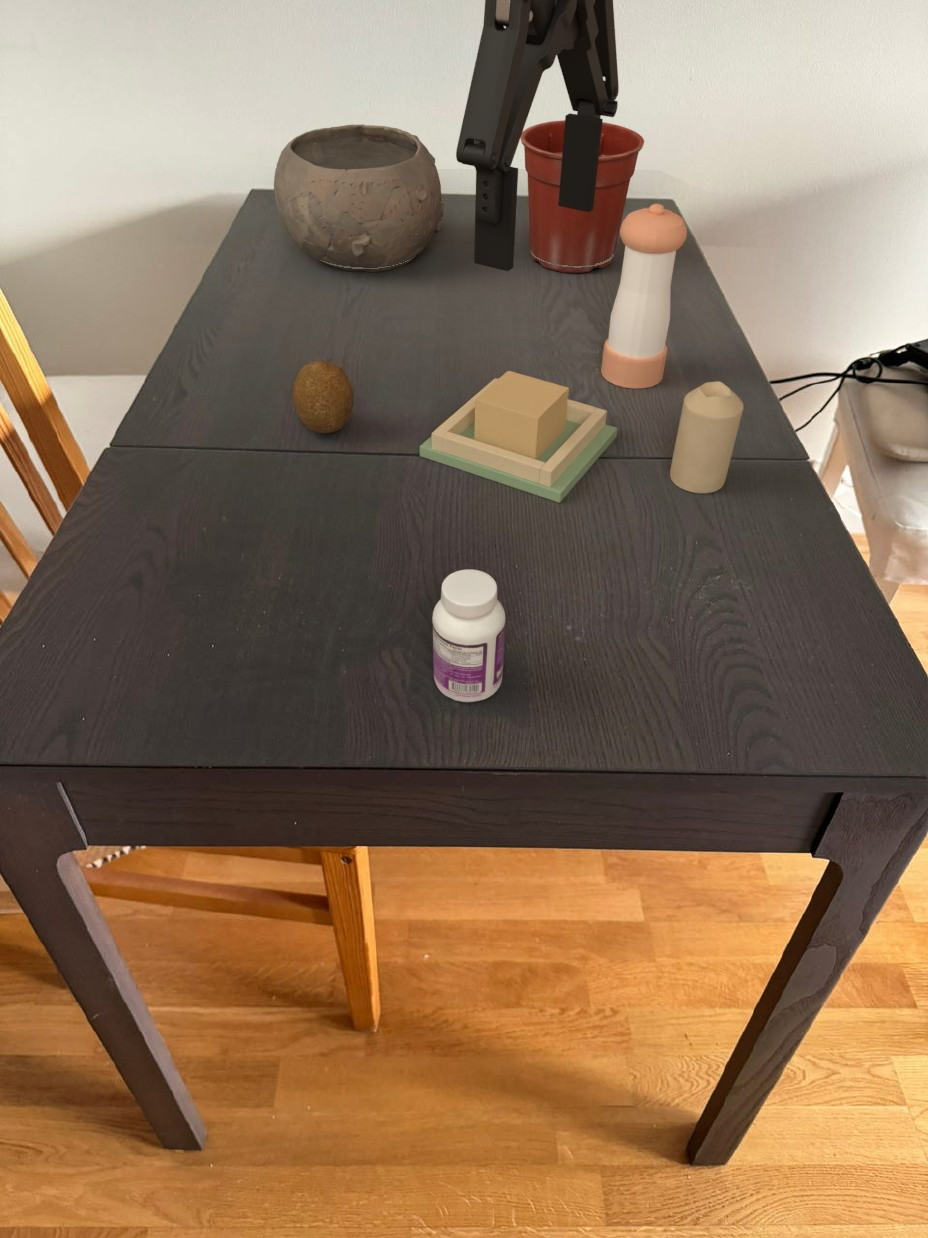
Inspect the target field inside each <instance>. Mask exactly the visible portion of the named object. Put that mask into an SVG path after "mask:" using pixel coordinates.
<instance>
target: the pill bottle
mask: <svg viewBox="0 0 928 1238" xmlns="http://www.w3.org/2000/svg"><path fill="white" fill-rule="evenodd" d="M440 591H441V593H440V599H439V600H438V601H437V602H436V604H435V606H434V608H433V611H432V618H431V623H432V660H433V661H432V663H433V664H432V665H433V679H434V683H435V685H436V687H437V689H438V690H439V691H440V693H442V695H444V697H447V698H449V699H451V700H453V701H456V702H461V703H473V702H475V703H476V702H480V701H484V700H486V699H488V698H490V697H491V696H493V695H494V694H495V693H496V692H497V691H498V690H499V688H500V687H501V685H502V682H503V676H504V675H503V674H504V659H505V639H506V621H507V620H506V613H505V609H504V607H503V605H502V603H501V601H500V600H498V584H497V582H496V581H495V579H494V578H493V577H492V576H491V575H490V574H489V573H487V572H485V571H482V570H478V569H472V568H471V569H467V568H466V569H460V570H457V571H454V572H452V573H450V574H448V575H447V576H446V577H445V578H444V579H443V580H442V583H441V589H440Z"/></svg>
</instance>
